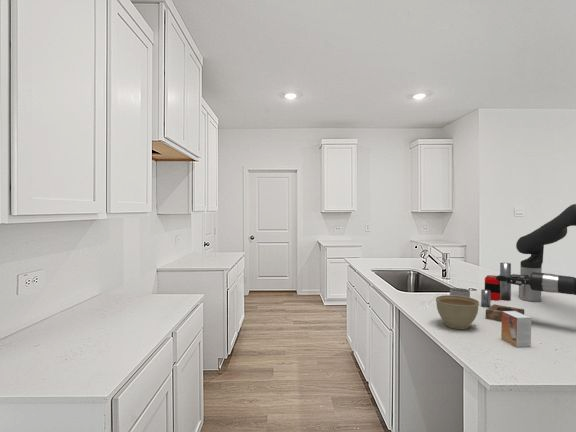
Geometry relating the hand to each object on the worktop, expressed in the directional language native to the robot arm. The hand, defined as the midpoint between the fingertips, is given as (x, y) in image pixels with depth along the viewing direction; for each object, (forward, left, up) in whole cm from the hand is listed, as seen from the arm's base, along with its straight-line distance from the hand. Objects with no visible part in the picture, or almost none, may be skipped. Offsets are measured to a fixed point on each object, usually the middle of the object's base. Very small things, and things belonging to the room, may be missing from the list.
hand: (498, 277), depth 158 cm
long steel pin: (+2, +2, -9) cm, 10 cm away
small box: (+28, -15, -18) cm, 36 cm away
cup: (-11, -11, -18) cm, 24 cm away
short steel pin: (-16, +6, -18) cm, 25 cm away
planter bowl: (+8, -25, -18) cm, 32 cm away
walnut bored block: (+2, +2, -18) cm, 18 cm away
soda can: (-29, +20, -18) cm, 40 cm away
